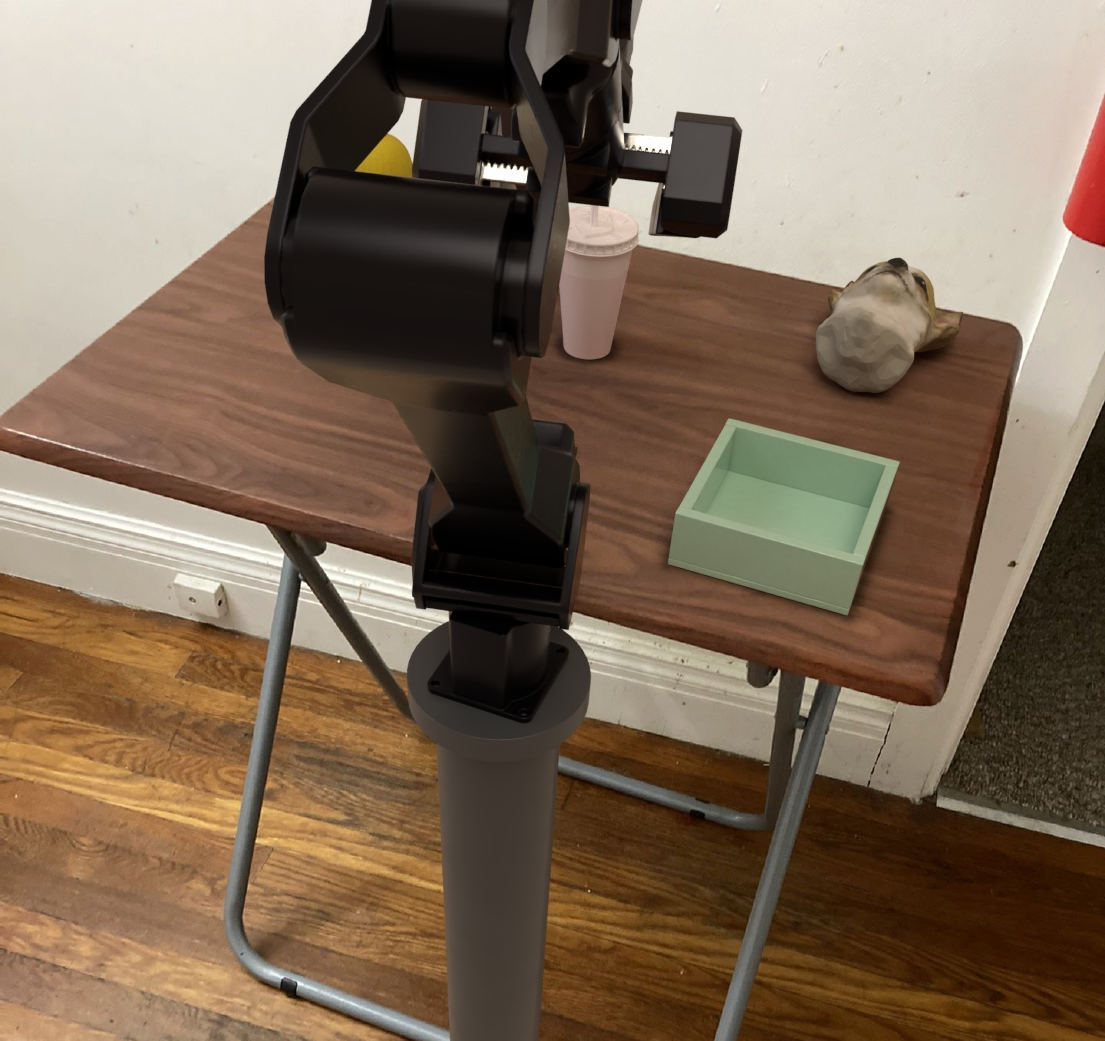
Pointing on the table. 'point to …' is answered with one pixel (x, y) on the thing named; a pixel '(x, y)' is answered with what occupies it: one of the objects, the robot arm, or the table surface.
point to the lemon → (388, 159)
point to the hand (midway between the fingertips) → (584, 219)
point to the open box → (783, 515)
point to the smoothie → (594, 277)
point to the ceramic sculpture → (881, 327)
